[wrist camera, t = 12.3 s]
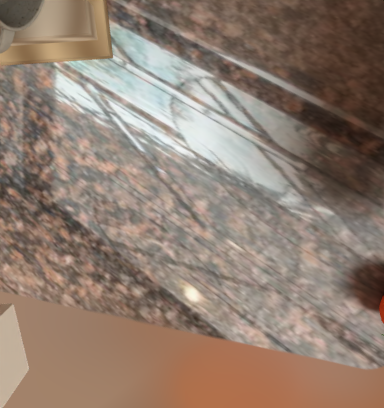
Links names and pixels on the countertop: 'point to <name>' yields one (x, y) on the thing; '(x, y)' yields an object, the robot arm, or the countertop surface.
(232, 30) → the countertop surface
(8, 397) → the robot arm
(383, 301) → the clementine
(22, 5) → the speckled stoneware cup
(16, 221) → the countertop surface
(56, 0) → the wooden block with ridges
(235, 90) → the countertop surface
